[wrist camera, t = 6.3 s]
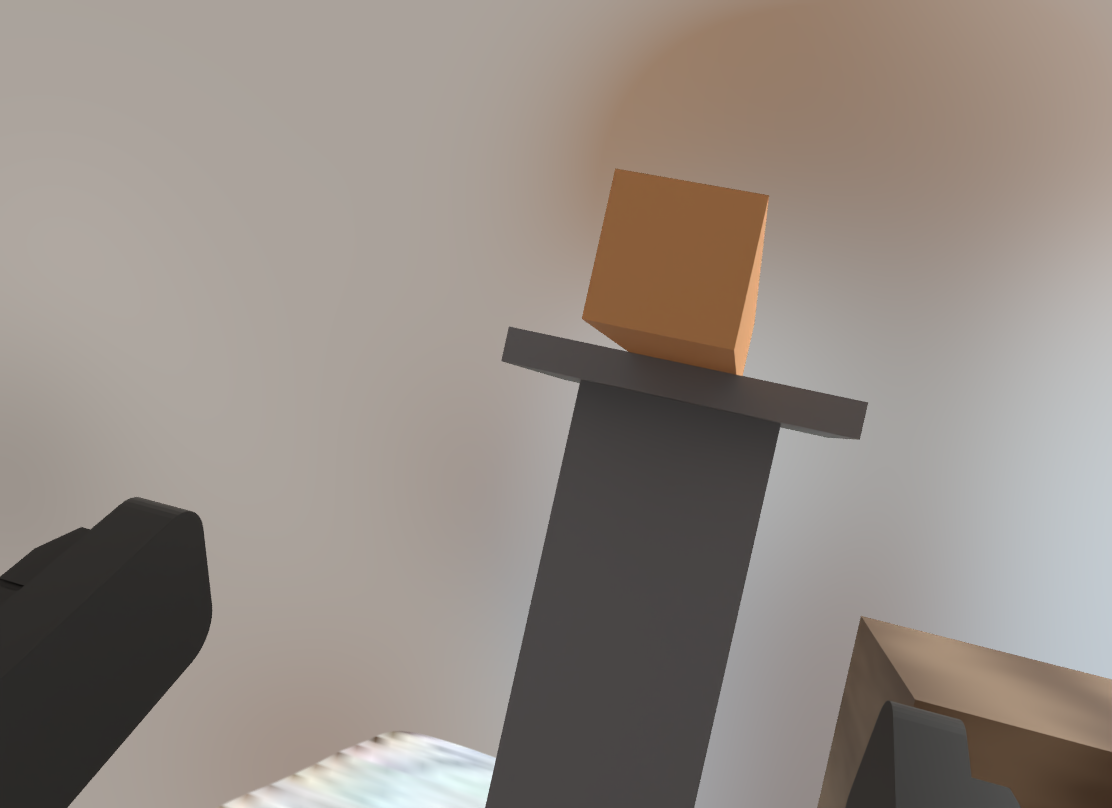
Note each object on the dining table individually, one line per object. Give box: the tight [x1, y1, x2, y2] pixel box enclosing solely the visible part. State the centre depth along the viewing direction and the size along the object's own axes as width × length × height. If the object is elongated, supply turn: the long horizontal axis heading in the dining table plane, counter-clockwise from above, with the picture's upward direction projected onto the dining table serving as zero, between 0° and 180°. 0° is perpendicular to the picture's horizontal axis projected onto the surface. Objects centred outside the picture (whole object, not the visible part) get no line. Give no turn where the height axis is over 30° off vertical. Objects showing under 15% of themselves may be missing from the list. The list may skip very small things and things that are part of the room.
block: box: [582, 169, 769, 376], centre depth 29 cm, size 3×22×3 cm, turn 169°
